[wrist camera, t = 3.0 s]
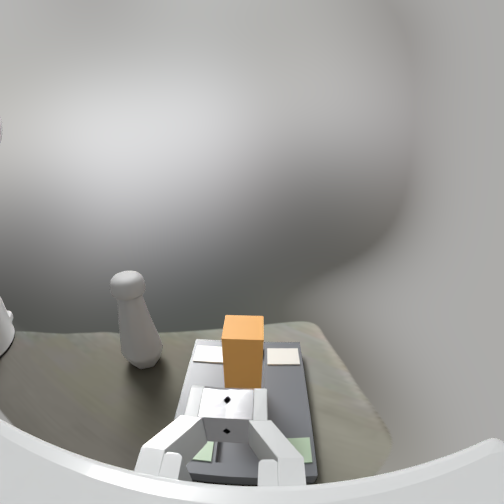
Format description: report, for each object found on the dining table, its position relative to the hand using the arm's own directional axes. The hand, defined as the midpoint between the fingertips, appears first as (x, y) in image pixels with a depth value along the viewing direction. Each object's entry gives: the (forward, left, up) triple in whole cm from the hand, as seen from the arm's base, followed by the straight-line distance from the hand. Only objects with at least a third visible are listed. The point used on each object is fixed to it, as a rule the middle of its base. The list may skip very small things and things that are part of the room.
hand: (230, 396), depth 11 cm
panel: (0, +13, -18) cm, 23 cm away
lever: (0, +13, -17) cm, 22 cm away
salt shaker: (-14, +20, -19) cm, 31 cm away
